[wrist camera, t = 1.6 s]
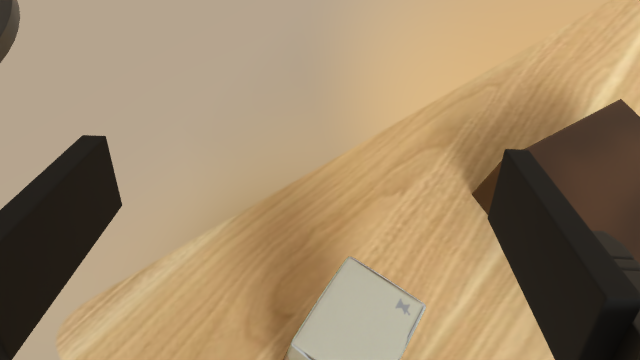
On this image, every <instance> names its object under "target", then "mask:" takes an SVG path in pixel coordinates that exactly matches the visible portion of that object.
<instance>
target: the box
mask: <svg viewBox="0 0 640 360" xmlns="http://www.w3.org/2000/svg"><path fill="white" fill-rule="evenodd" d="M425 308H426V305H425V304H424V303H423V302H421V301H420V300H418V299H417V298H415V297H414V296H412V295H411V294H409V293H408V292H406V291H405V290H403V289H402V288H400V287H399V286H397V285H396V284H394V283H393V282H391V281H390V280H388V279H387V278H385V277H384V276H382V275H380V274H379V273H377V272H376V271H374V270H372V269H371V268H369V267H368V266H366V265H364V264H363V263H361V262H359V261H358V260H356V259H355V258H353V257H348V258H347V259H346V260H345V261H344V263H343V264H342V265H341V267H340V268H339V270H338V271H337V272H336V274H335V275H334V277H333V278H332V279H331V281H330V282H329V284H328V285H327V287H326V288H325V290H324V291H323V293H322V294H321V296H320V297H319V299H318V300H317V302H316V303H315V305H314V306H313V308H312V309H311V311H310V313H309V314H308V316H307V317H306V319H305V320H304V322H303V324H302V325H301V327H300V328H299V330H298V332H297V333H296V335H295V336H294V338H293V339H292V341H291V344H290V347H289V349H288V351H287V353H286V356H285V358H284V360H400V359H401V357H402V355H403V353H404V351H405V349H406V347H407V345H408V343H409V341H410V339H411V337H412V335H413V333H414V331H415V329H416V327H417V325H418V323H419V321H420V319H421V317H422V315H423V313H424V311H425Z"/></svg>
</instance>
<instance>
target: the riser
mask: <svg viewBox="0 0 640 360" xmlns="http://www.w3.org/2000/svg"><path fill="white" fill-rule="evenodd" d="M524 150H529V151H530V152H531V154H532V155H533V156H534V158H535V159H536V160H537V161H538V163H539V164H540V165H541V167H542V168H543V169H544V170H545V172H546V173H547V174H548V176H549V177H550V178H551V179H552V181H553V182H554V183H555V185H556V186H557V187H558V188H559V190H560V191H561V192H562V194H563V195H564V196H565V197H566V199H567V200H568V201H569V203H570V204H571V205H572V206H573V208H574V209H575V210H576V212H577V213H578V214H579V215H580V217H581V218H582V219H583V221H584V222H585V223H586V224H587V226H588V227H589V228H590V230H591V231H605V232H607V233H608V234H610V235H611V236H613V237H614V238H615V239H617V240H618V241H620V242H621V243H623V244H624V246H625V247H626V248H627V249H628V250H629V252H630V253H631V254H632V255H633V256H634V260H637V261H638V262H639V264H640V117H639V116H638V115H637V114H636V113H635V112H634V111H633V110H632V109H631V108H630V107H629V106H628V105H627V104H626V103H625V102H624V101H623V100H622V99H620V100H618V101H616V102H614V103H612V104H610V105H608V106H606V107H604V108H603V109H601V110H599V111H597V112H595V113H593V114H591V115H589V116H587V117H585V118H583V119H581V120H580V121H578V122H576V123H574V124H572V125H570V126H568V127H566V128H564V129H562V130H560V131H559V132H557V133H555V134H553V135H551V136H549V137H547V138H545V139H543V140H541V141H539V142H537V143H536V144H534V145H532V146H530V147H528V148H526V149H524ZM501 163H502V161H501V162H500V163H499V164H498V165H497V167H496V168H495V169H494V170H493V171H492V172H491V173H490V174H489V176H488V177H487V178H486V179H485V180H484V181H483V182H482V183H481V184H480V186H479V187H478V188H477V189H476V190H475V191H474V192H473V193H472V195H473V196H474V198H475V199H476V200H477V201H478V203H479V204H480V205H481V206H482V208H483V209H484V210H485V211H486V213H487V214H488V215H489V211H490V207H491V203H492V199H493V195H494V191H495V187H496V183H497V179H498V175H499V171H500V167H501Z"/></svg>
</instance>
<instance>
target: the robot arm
mask: <svg viewBox="0 0 640 360" xmlns="http://www.w3.org/2000/svg"><path fill="white" fill-rule="evenodd" d="M121 206H122V202H121V198H120V194H119V191H118V186H117V182H116V178H115V173H114V169H113V165H112V161H111V157H110V153H109V148H108V144H107V140H106V136H87V135H83V136H81V137H80V138H79V139H78V140H77V141H76V142H75V143H74V144H73V145H72V146H70V147H69V148H68V149H67V150H66V151H65V152H64V153H63V154H62V155H61V156H59V157H58V158H57V159H56V160H55V161H54V162H53V163H52V164H51V165H49V166H48V167H47V168H46V169H45V170H44V171H43V172H42V173H41V174H40V175H38V176H37V177H36V178H35V179H34V180H33V181H32V182H31V183H30V184H29V185H27V186H26V187H25V188H24V189H23V190H22V191H21V192H20V193H19V194H18V195H16V196H15V197H14V198H13V199H12V200H11V201H10V202H9V203H8V204H7V205H5V206H4V207H3V208H2V209H1V210H0V360H12V359H13V357H14V356H15V355H16V353H17V352H18V350H19V349H20V348H21V346H22V345H23V343H24V342H25V340H26V339H27V337H28V336H29V335H30V333H31V332H32V331H33V329H34V328H35V327H36V325H37V324H38V322H39V321H40V320H41V318H42V317H43V315H44V314H45V313H46V311H47V310H48V308H49V307H50V305H51V304H52V303H53V301H54V300H55V299H56V297H57V296H58V294H59V293H60V292H61V290H62V289H63V287H64V286H65V285H66V283H67V282H68V280H69V279H70V278H71V276H72V275H73V273H74V272H75V271H76V269H77V268H78V266H79V265H80V263H81V262H82V260H83V259H84V258H85V257H86V255H87V254H88V252H89V251H90V250H91V248H92V247H93V245H94V244H95V243H96V241H97V240H98V238H99V237H100V236H101V234H102V233H103V231H104V230H105V229H106V227H107V226H108V224H109V223H110V222H111V220H112V219H113V217H114V216H115V215H116V213H117V212H118V210H119V209H120V208H121ZM488 220H489V222H490V225H491V227H492V229H493V231H494V233H495V235H496V237H497V239H498V241H499V243H500V245H501V248H502V250H503V252H504V254H505V256H506V258H507V260H508V262H509V264H510V266H511V268H512V271H513V273H514V275H515V277H516V279H517V281H518V283H519V285H520V287H521V289H522V291H523V294H524V296H525V298H526V300H527V302H528V304H529V306H530V308H531V310H532V312H533V315H534V317H535V319H536V321H537V323H538V325H539V327H540V329H541V331H542V333H543V335H544V338H545V340H546V342H547V344H548V346H549V348H550V350H551V352H552V354H553V356H554V358H555V360H640V264H639V262H638V261H637V260H634V256H633V255H632V254H631V253H630V252H629V250H628V249H627V248H626V247H625V246H624V244H623V243H621V242H620V241H618V240H617V239H615V238H614V237H613V236H611V235H610V234H608V233H607V232H605V231H591V230H590V228H589V227H588V226H587V224H586V223H585V222H584V221H583V219H582V218H581V217H580V215H579V214H578V213H577V212H576V210H575V209H574V208H573V206H572V205H571V204H570V203H569V201H568V200H567V199H566V197H565V196H564V195H563V194H562V192H561V191H560V190H559V188H558V187H557V186H556V185H555V183H554V182H553V181H552V179H551V178H550V177H549V176H548V174H547V173H546V172H545V170H544V169H543V168H542V167H541V165H540V164H539V163H538V161H537V160H536V159H535V158H534V156H533V155H532V154H531V152H530V151H529V150H513V149H505V151H504V155H503V159H502V163H501V167H500V171H499V175H498V179H497V183H496V187H495V191H494V195H493V199H492V203H491V207H490V211H489V215H488Z"/></svg>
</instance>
